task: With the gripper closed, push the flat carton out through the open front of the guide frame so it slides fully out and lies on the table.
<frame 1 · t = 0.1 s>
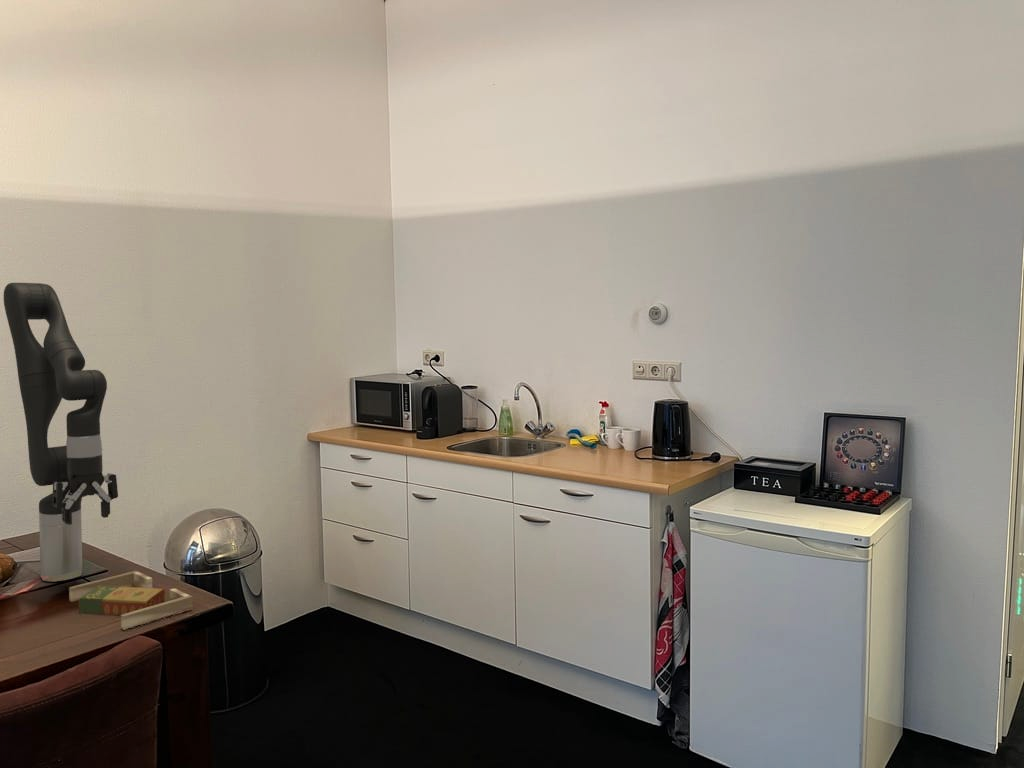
hand: (86, 520, 195), 17 cm above the table, tool pointing down, fingers open, 8 cm apart
carton: (122, 610, 187), on the table
guide frame: (121, 607, 187), on the table
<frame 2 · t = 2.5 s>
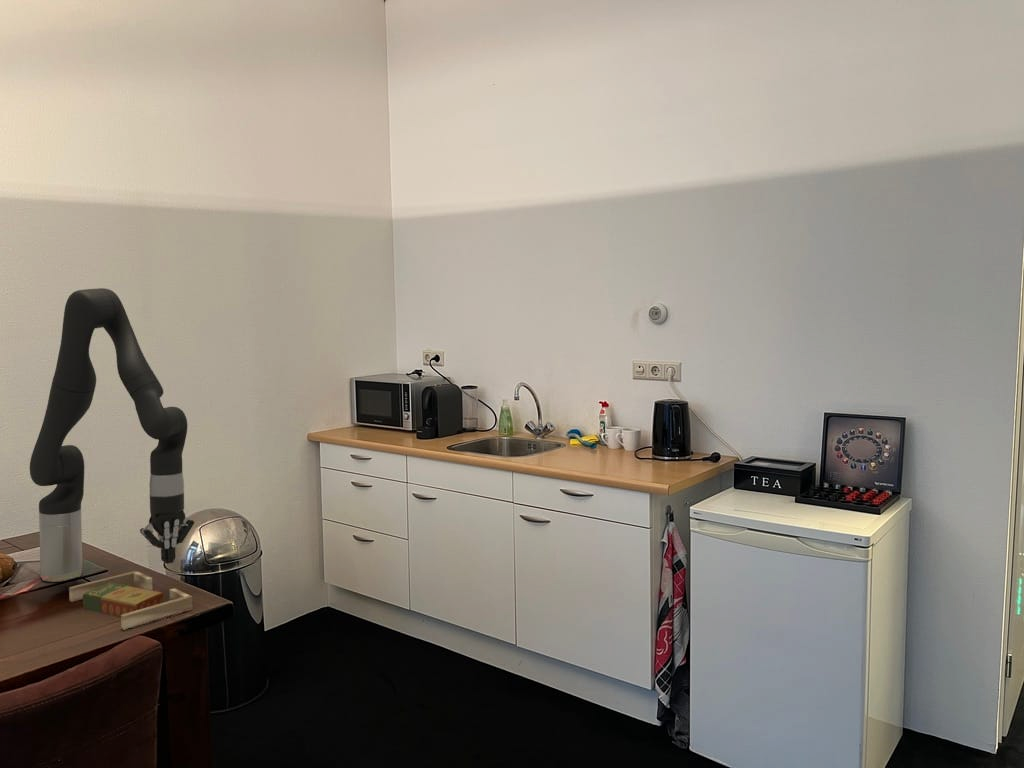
hand: (168, 562, 194), 8 cm above the table, tool pointing down, fingers closed
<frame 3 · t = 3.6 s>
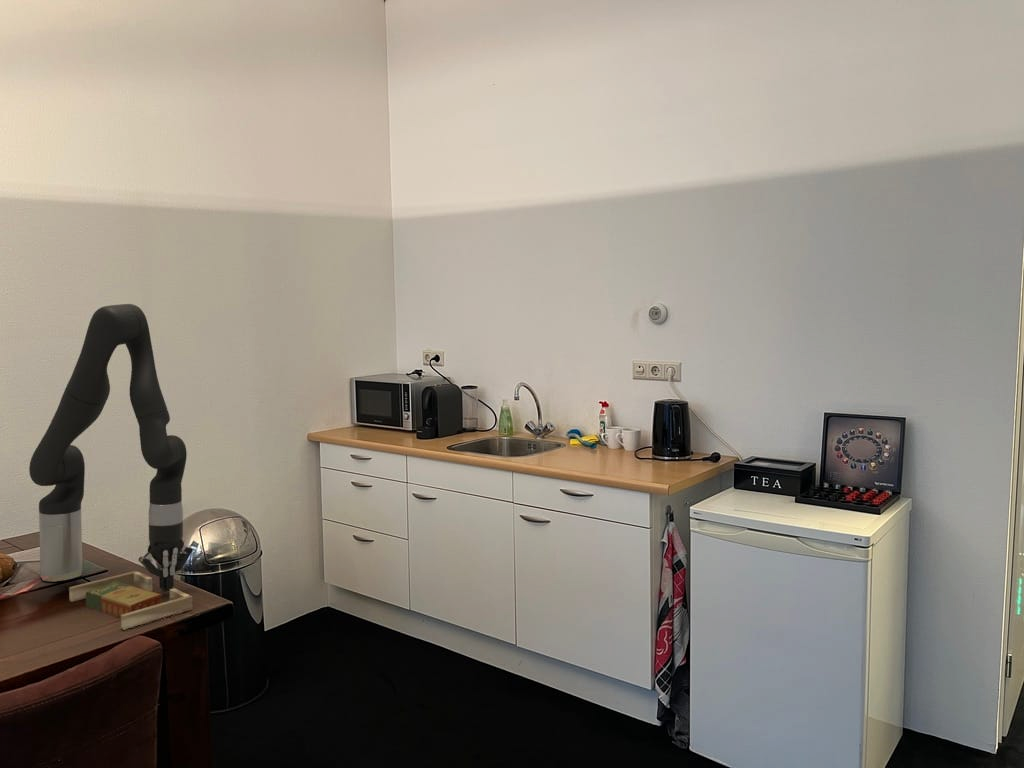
hand: (166, 590, 195), 1 cm above the table, tool pointing down, fingers closed
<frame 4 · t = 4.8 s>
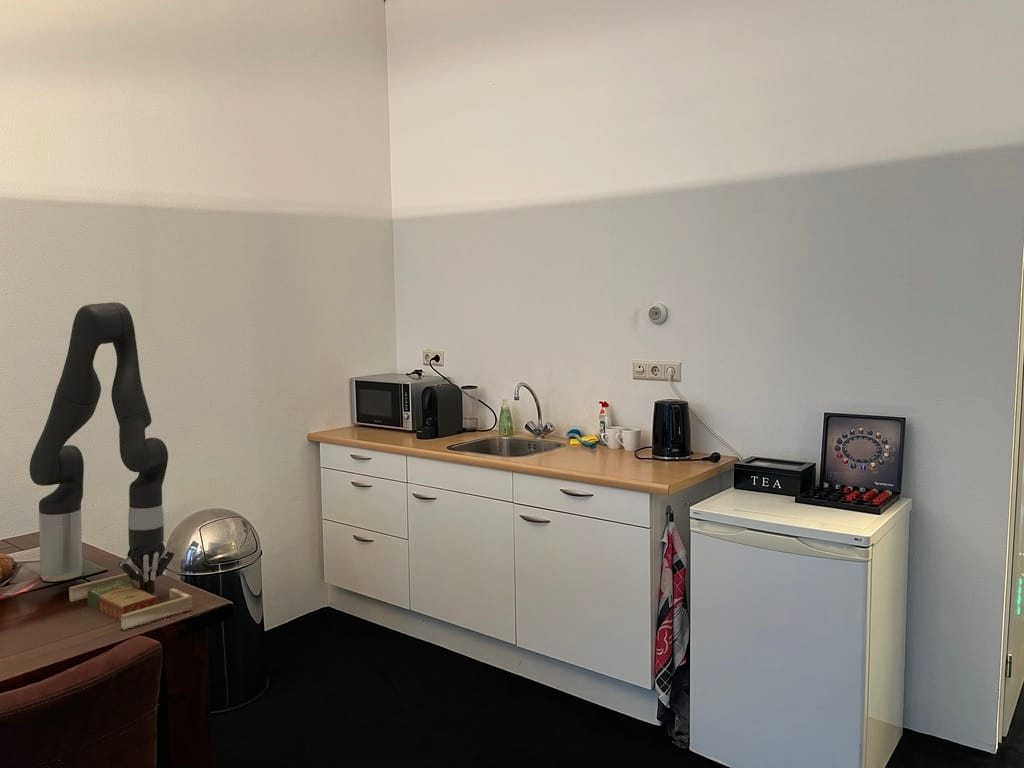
hand: (147, 595, 191), 1 cm above the table, tool pointing down, fingers closed
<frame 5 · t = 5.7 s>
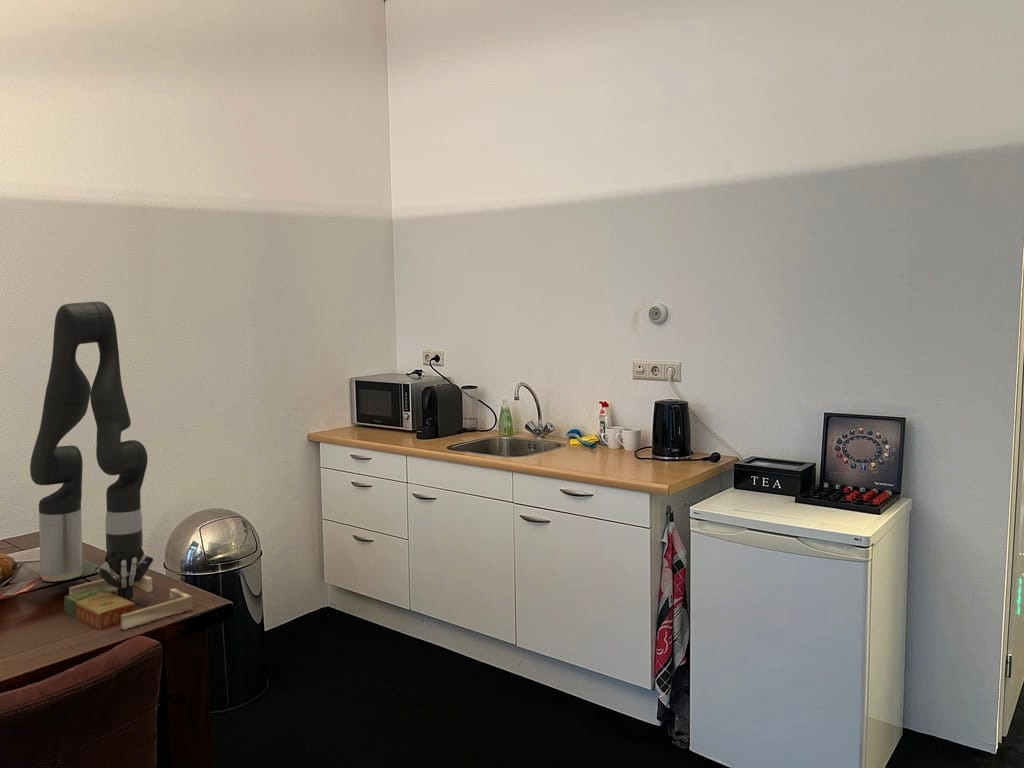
hand: (125, 601, 187), 1 cm above the table, tool pointing down, fingers closed
carton: (99, 617, 182), on the table, touching gripper
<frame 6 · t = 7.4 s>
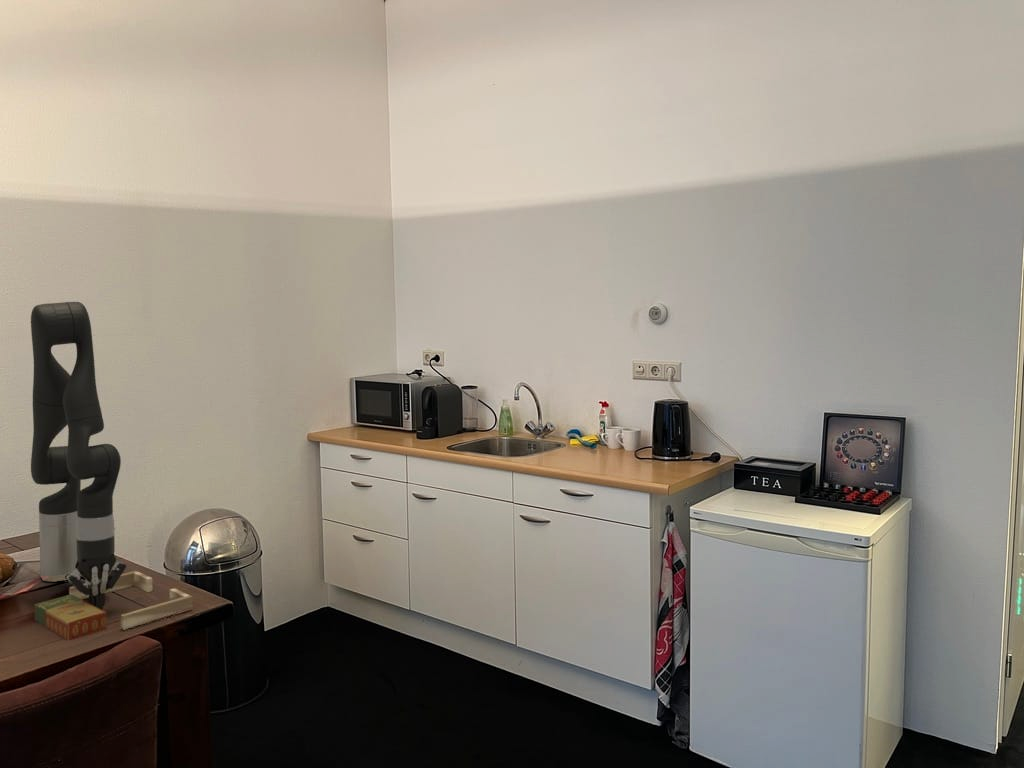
hand: (96, 609, 182), 1 cm above the table, tool pointing down, fingers closed
carton: (70, 626, 177), on the table
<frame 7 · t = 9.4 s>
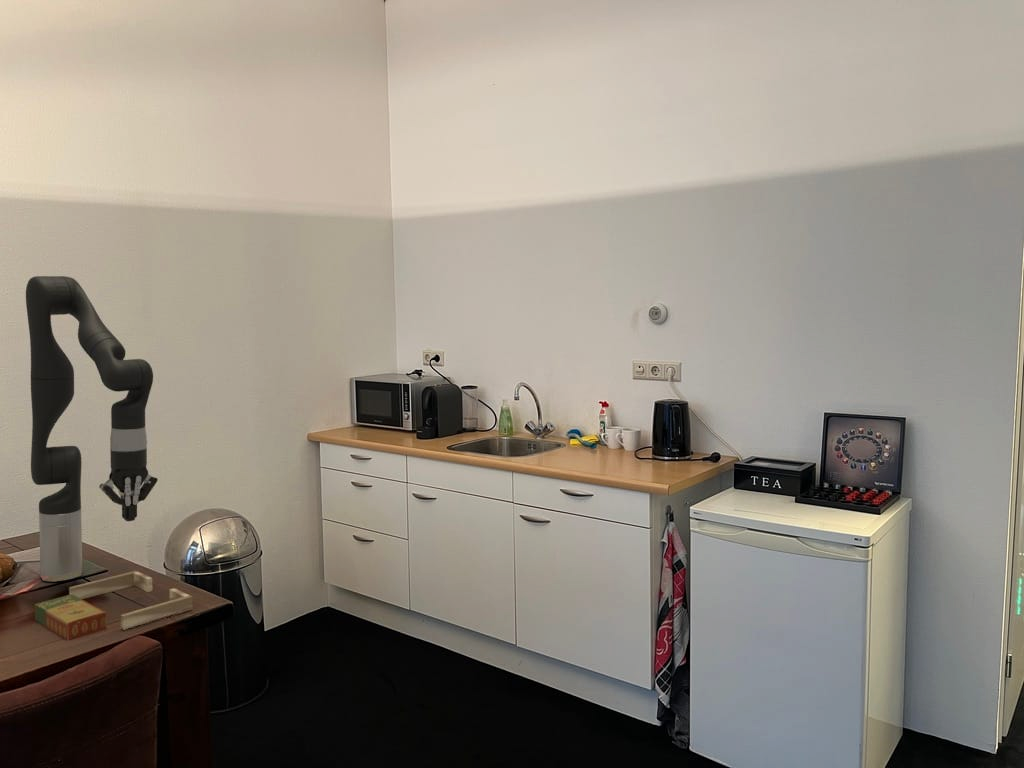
hand: (129, 520, 188), 20 cm above the table, tool pointing down, fingers closed
nothing on the table moved.
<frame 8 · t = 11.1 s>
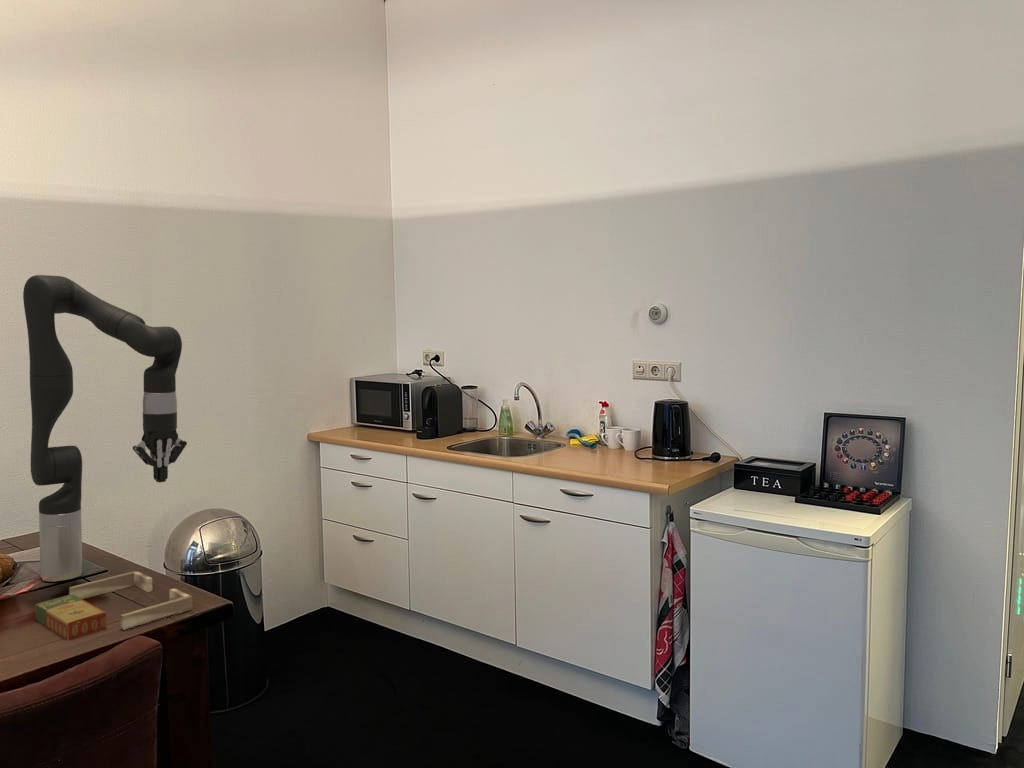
hand: (160, 481, 196), 27 cm above the table, tool pointing down, fingers closed
nothing on the table moved.
at the end: carton inside the target area (3.0 cm from its centre), on the table; carton moved 11.7 cm from its start; the gripper is holding nothing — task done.
